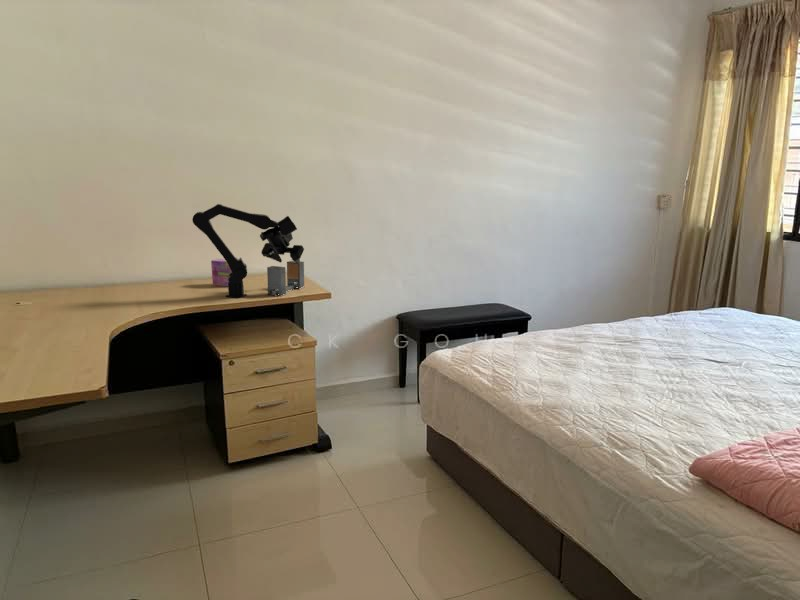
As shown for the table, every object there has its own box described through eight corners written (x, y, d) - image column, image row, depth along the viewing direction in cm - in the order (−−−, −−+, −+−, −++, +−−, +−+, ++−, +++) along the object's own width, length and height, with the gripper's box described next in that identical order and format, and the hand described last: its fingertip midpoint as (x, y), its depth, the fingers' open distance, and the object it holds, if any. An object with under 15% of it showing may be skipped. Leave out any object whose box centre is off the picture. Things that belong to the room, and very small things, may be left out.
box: (212, 285, 274) (210, 260, 272) (219, 283, 280) (218, 258, 277) (232, 287, 271) (231, 261, 269) (239, 285, 277) (237, 259, 274)
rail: (276, 296, 255) (275, 291, 254) (271, 295, 256) (271, 291, 255) (303, 286, 277) (303, 281, 277) (299, 285, 278) (299, 281, 277)
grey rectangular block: (299, 289, 270) (299, 262, 267) (287, 288, 272) (286, 261, 269) (304, 287, 274) (303, 261, 271) (292, 286, 276) (291, 260, 273)
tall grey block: (281, 296, 255) (280, 268, 252) (268, 295, 257) (267, 267, 254) (286, 294, 259) (285, 266, 256) (273, 293, 261) (272, 265, 258)
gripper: (301, 226, 255) (314, 249, 267) (264, 224, 261) (278, 246, 274) (292, 247, 249) (306, 269, 262) (254, 244, 256) (269, 266, 268)
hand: (290, 262), depth 266 cm, fingers open, 9 cm apart
